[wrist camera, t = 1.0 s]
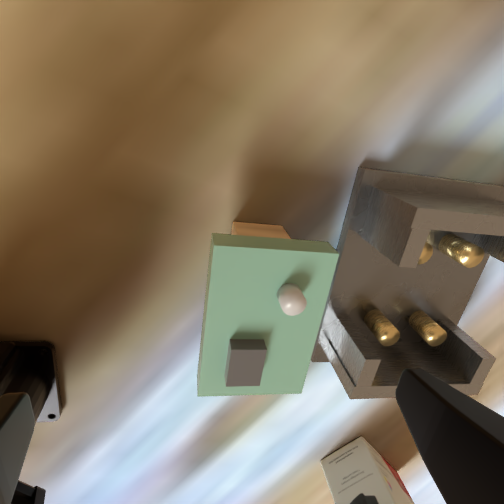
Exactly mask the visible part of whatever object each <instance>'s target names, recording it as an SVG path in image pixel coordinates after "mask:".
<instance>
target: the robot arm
mask: <svg viewBox="0 0 504 504" xmlns="http://www.w3.org/2000/svg"><path fill="white" fill-rule="evenodd" d="M42 349H45V350H47V351H43V350H42ZM395 395H396V400H397V403H398V405H399V407H400V409H401V412H402V414H403V416H404V419H405V421H406V423H407V425H408V428H409V430H410V432H411V435H412V437H413V439H414V441H415V444H416V446H417V448H418V450H419V453H420V455H421V457H422V459H423V461H424V463H425V465H426V467H427V469H428V470H429V472H430V474H431V476H432V478H433V480H434V481H435V483H436V485H437V487H438V489H439V491H440V492H441V494H442V496H443V498H444V500H445V502H446V504H504V417H503V416H501V415H499V414H498V413H496V412H494V411H492V410H491V409H489V408H487V407H486V406H484V405H482V404H481V403H479V402H477V401H476V400H474V399H472V398H470V397H469V396H467V395H465V394H464V393H462V392H460V391H459V390H457V389H455V388H454V387H452V386H450V385H448V384H447V383H445V382H443V381H442V380H440V379H438V378H437V377H435V376H433V375H432V374H430V373H428V372H426V371H425V370H423V369H421V368H406V369H404V370H403V371H402V374H401V377H400V379H399V382H398V385H397V388H396V391H395ZM61 413H62V408H61V399H60V390H59V381H58V373H57V364H56V355H55V348H54V345H53V344H51V343H49V342H0V504H44V499H45V492H46V491H45V490H44V489H42V488H40V487H38V486H35V487H32V486H30V485H28V484H26V483H24V482H21V481H19V480H18V479H19V476H20V472H21V469H22V466H23V463H24V460H25V457H26V453H27V450H28V447H29V444H30V441H31V437H32V434H33V431H34V426H35V423H36V422H53V421H57V420H58V419H59V418H60V416H61Z"/></svg>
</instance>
